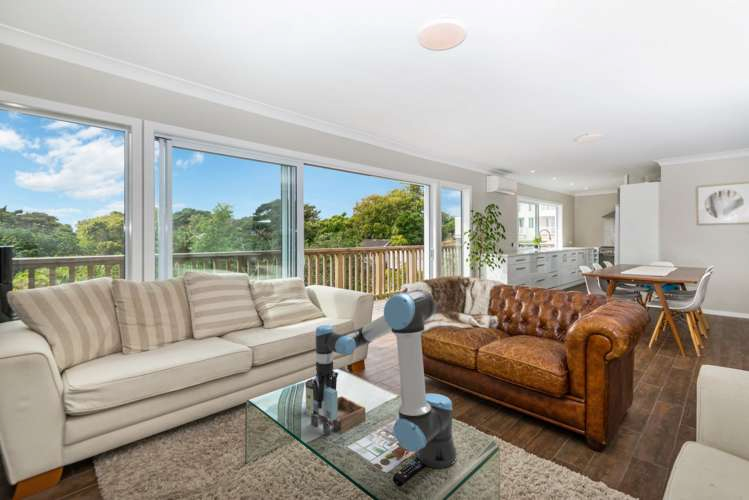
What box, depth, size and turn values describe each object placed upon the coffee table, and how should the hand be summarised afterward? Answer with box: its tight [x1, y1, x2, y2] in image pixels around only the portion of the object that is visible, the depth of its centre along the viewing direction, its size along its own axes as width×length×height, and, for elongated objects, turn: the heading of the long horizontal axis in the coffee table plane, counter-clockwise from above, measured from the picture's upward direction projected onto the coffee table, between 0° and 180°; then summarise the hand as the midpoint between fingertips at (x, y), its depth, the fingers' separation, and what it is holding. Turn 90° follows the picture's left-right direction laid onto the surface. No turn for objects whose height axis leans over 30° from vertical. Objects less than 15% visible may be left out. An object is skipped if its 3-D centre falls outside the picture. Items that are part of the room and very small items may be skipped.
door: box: [313, 383, 338, 421], centre depth 160 cm, size 14×3×12 cm, turn 44°
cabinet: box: [310, 395, 366, 436], centre depth 165 cm, size 17×20×6 cm
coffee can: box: [304, 378, 326, 417], centre depth 176 cm, size 10×10×14 cm
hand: (325, 413), depth 161 cm, fingers closed on door, 3 cm apart
